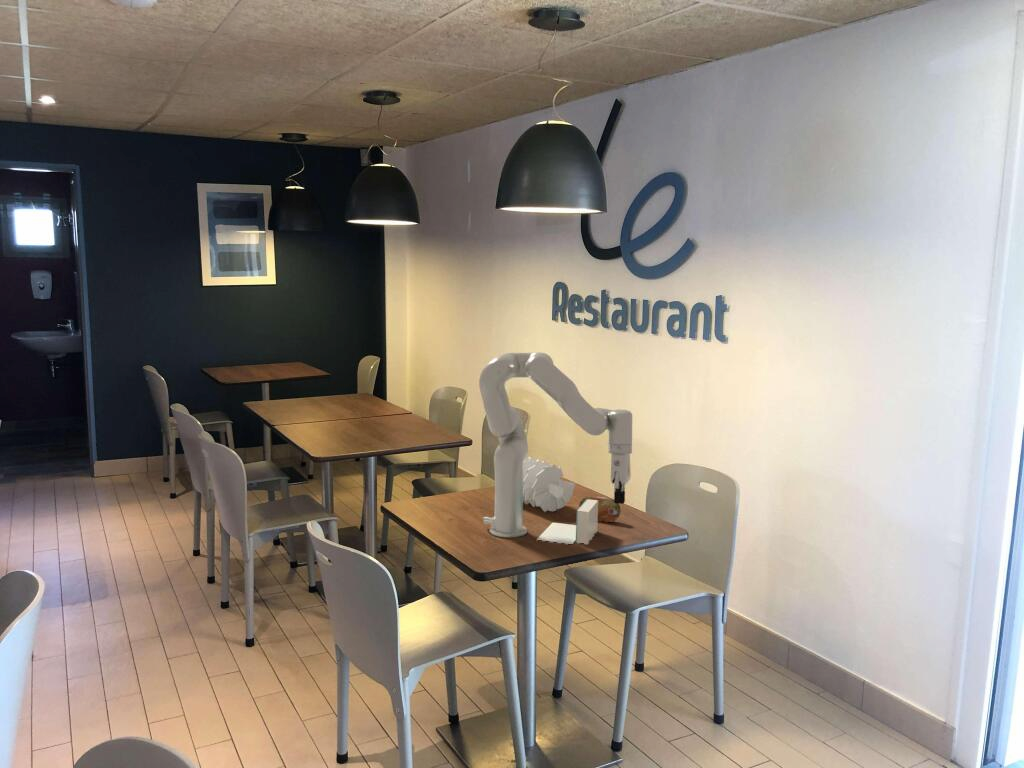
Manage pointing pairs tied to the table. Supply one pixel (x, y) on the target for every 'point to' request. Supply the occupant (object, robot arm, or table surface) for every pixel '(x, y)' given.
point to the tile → (586, 521)
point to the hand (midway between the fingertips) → (619, 502)
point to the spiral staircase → (545, 485)
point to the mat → (559, 533)
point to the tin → (605, 508)
